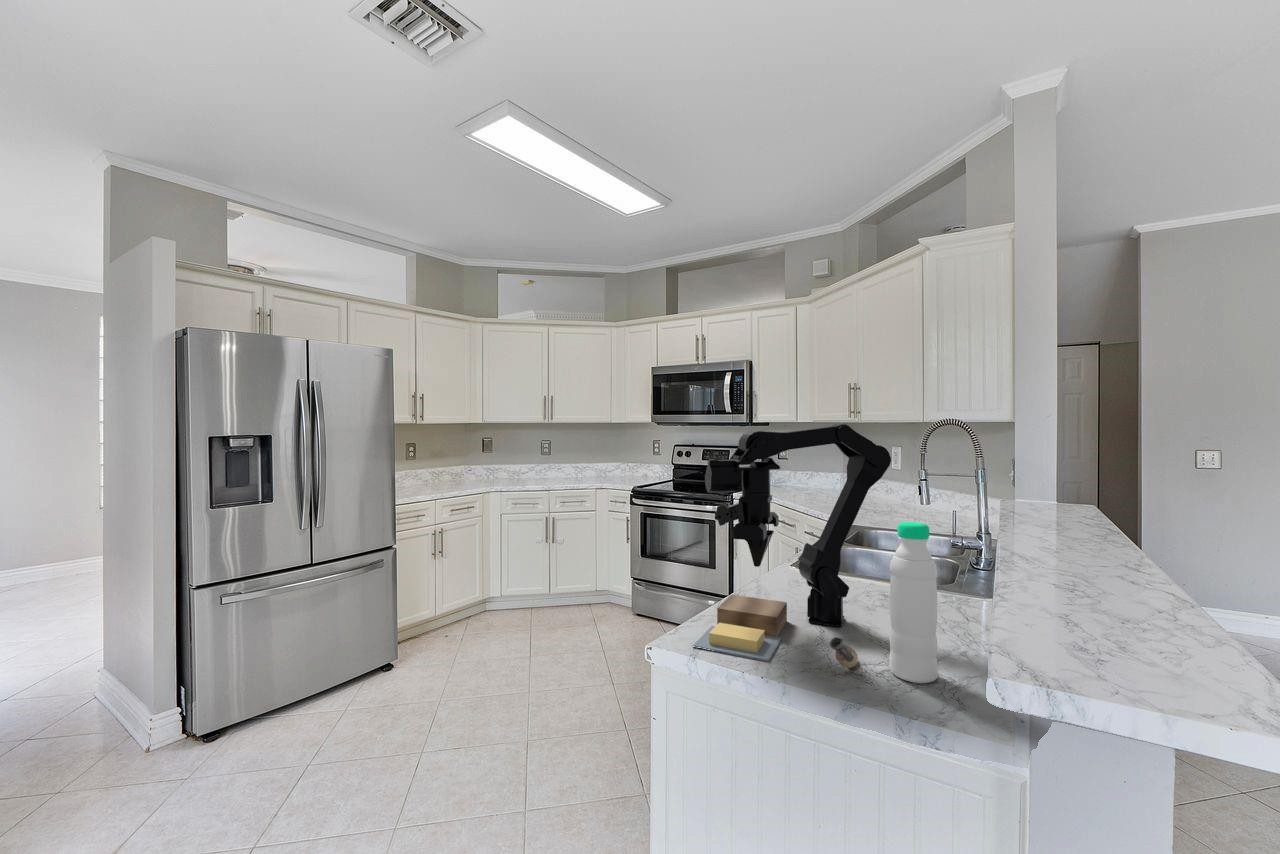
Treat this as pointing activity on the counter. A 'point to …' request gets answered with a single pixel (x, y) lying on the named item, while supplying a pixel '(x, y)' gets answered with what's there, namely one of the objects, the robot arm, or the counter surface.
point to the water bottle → (913, 606)
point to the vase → (847, 656)
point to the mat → (762, 654)
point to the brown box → (753, 613)
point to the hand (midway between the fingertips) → (757, 566)
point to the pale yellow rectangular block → (737, 637)
